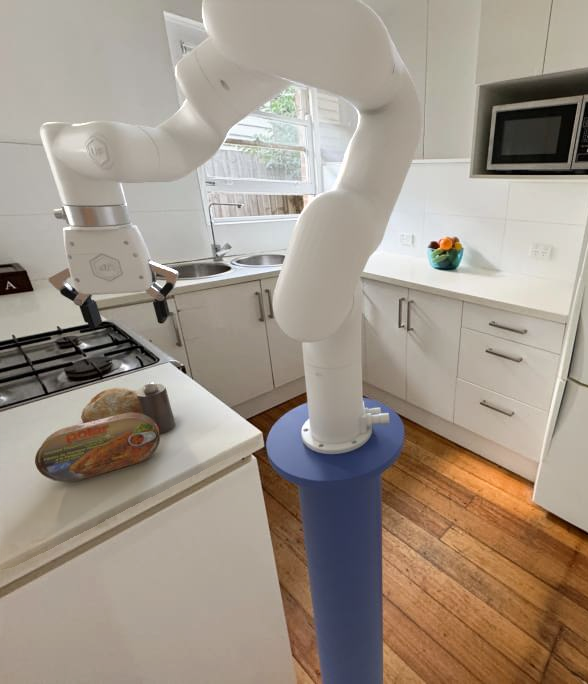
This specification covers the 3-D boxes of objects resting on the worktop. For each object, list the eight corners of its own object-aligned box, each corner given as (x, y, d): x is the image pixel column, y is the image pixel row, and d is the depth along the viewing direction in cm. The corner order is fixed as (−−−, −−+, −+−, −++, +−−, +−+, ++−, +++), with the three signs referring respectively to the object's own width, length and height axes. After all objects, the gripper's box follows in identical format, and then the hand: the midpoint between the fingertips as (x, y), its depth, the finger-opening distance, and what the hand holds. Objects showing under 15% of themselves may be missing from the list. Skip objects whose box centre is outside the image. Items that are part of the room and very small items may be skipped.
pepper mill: (178, 419, 73) (167, 376, 69) (170, 433, 69) (158, 389, 65) (153, 421, 72) (140, 378, 68) (143, 435, 68) (129, 391, 64)
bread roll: (100, 455, 68) (97, 428, 64) (70, 417, 71) (65, 389, 66) (158, 427, 76) (159, 402, 72) (129, 394, 79) (128, 368, 74)
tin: (46, 490, 56) (24, 444, 53) (50, 477, 59) (30, 432, 55) (165, 455, 64) (152, 413, 60) (164, 445, 66) (152, 404, 63)
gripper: (12, 220, 51) (56, 336, 58) (158, 219, 57) (183, 326, 63) (41, 215, 58) (78, 320, 65) (170, 214, 63) (192, 312, 70)
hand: (130, 323), depth 64 cm, fingers open, 9 cm apart
